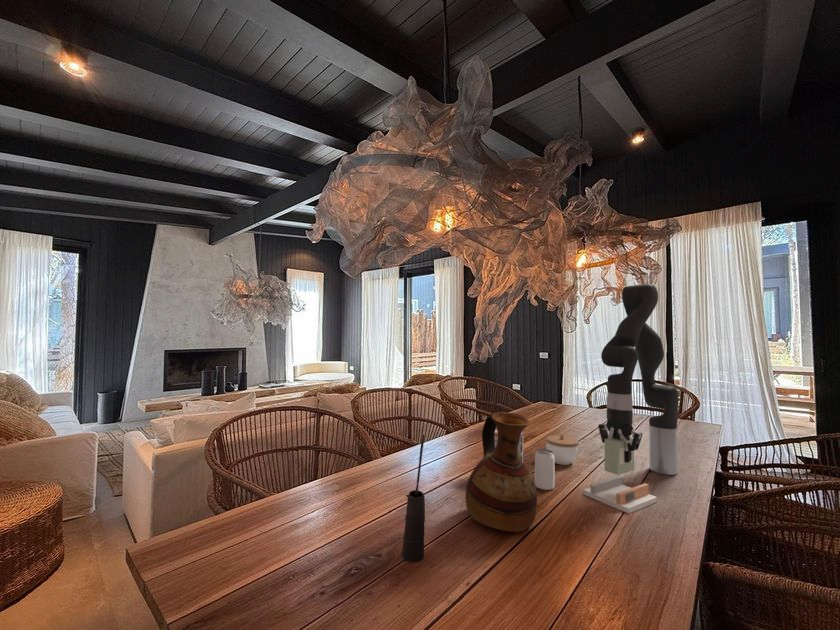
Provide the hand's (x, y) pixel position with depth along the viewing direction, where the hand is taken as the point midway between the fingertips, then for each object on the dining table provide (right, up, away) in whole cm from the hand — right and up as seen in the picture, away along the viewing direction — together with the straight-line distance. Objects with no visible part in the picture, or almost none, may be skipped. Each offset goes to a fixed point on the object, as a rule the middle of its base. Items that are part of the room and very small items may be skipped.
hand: (619, 459), depth 123 cm
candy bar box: (-33, -12, +14) cm, 38 cm away
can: (-22, -12, +7) cm, 26 cm away
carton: (0, -3, 0) cm, 3 cm away
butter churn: (-67, -9, -36) cm, 77 cm away
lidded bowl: (-6, -14, +33) cm, 37 cm away
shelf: (0, -12, -1) cm, 12 cm away
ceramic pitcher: (-42, -11, -17) cm, 47 cm away
